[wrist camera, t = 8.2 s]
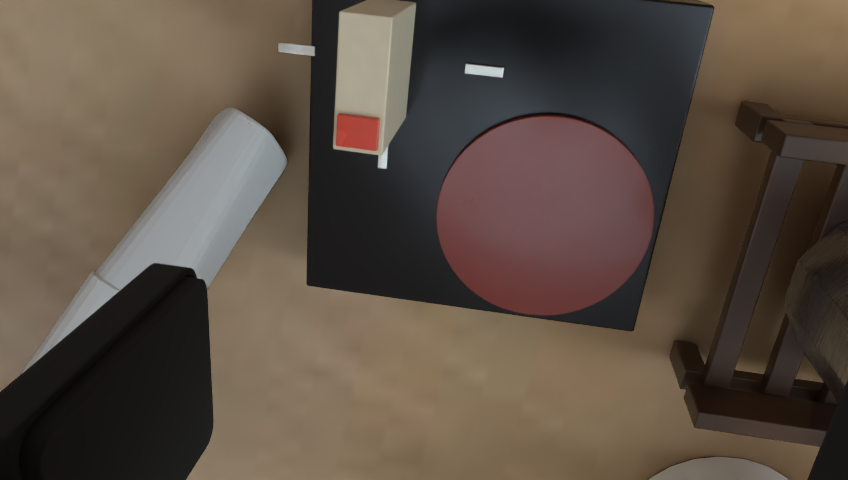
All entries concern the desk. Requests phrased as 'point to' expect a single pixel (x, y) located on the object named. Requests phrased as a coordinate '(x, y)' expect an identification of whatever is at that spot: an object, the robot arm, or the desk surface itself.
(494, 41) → the hob
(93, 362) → the robot arm
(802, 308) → the steel pot
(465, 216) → the hot plate
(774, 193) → the drying rack
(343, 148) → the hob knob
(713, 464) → the base with upright slab
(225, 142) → the handheld device
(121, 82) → the desk surface
